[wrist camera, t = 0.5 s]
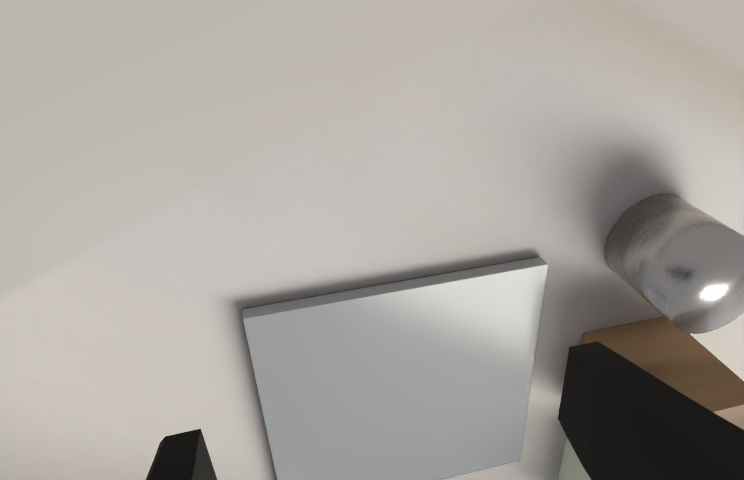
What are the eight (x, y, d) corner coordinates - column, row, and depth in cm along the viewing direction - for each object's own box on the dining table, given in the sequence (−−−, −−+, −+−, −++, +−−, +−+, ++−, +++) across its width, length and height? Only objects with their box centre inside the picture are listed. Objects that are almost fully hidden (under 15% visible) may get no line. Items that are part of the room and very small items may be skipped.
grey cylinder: (677, 268, 24) (749, 323, 21) (597, 283, 24) (658, 342, 20) (700, 187, 22) (784, 233, 19) (613, 201, 22) (685, 251, 18)
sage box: (618, 466, 32) (658, 522, 29) (555, 483, 31) (591, 541, 28) (631, 419, 30) (677, 474, 27) (565, 436, 29) (604, 494, 26)
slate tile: (514, 451, 28) (520, 460, 28) (284, 506, 26) (285, 518, 26) (540, 256, 22) (547, 264, 22) (242, 309, 20) (243, 319, 20)
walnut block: (647, 383, 28) (730, 472, 24) (568, 401, 28) (639, 497, 23) (667, 314, 26) (764, 399, 21) (582, 332, 25) (663, 424, 21)
